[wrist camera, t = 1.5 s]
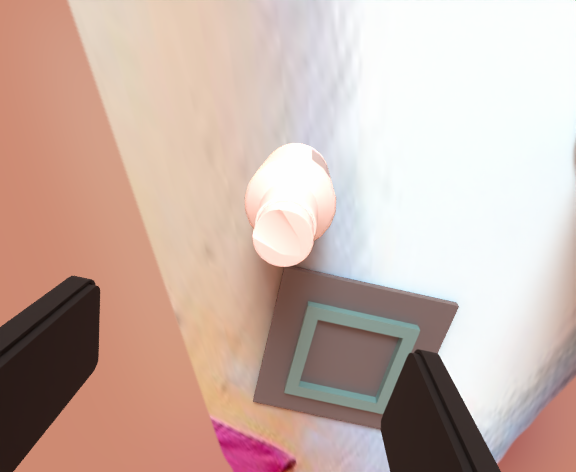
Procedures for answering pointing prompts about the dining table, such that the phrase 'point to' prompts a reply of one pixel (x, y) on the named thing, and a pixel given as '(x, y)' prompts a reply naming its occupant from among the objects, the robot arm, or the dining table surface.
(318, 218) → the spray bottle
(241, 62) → the dining table surface
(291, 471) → the dining table surface
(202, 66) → the dining table surface
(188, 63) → the dining table surface
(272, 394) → the dock
